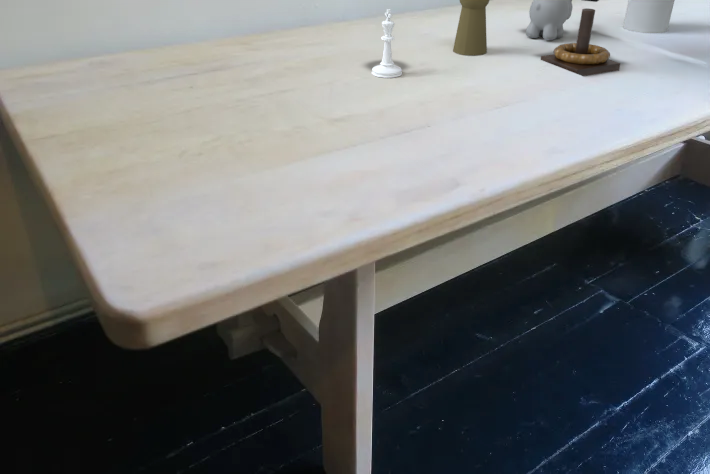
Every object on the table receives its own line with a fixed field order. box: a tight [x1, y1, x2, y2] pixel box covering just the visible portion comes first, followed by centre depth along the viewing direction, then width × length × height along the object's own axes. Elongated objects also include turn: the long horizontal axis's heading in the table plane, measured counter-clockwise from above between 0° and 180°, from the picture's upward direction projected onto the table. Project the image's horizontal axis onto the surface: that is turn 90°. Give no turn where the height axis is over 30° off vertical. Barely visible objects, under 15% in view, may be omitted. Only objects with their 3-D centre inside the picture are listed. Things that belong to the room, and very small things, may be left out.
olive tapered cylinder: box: [452, 0, 490, 56], centre depth 116 cm, size 6×6×11 cm
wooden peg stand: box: [540, 7, 621, 77], centre depth 109 cm, size 9×9×9 cm
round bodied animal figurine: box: [525, 0, 574, 41], centre depth 127 cm, size 7×12×8 cm, turn 135°
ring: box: [553, 42, 611, 65], centre depth 110 cm, size 9×9×2 cm
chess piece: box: [371, 8, 403, 79], centre depth 105 cm, size 5×5×10 cm
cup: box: [622, 0, 675, 35], centre depth 127 cm, size 8×8×12 cm
